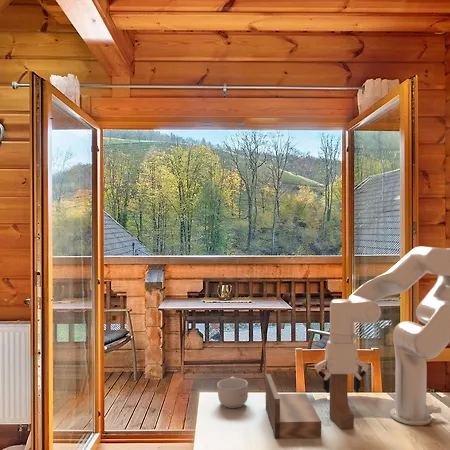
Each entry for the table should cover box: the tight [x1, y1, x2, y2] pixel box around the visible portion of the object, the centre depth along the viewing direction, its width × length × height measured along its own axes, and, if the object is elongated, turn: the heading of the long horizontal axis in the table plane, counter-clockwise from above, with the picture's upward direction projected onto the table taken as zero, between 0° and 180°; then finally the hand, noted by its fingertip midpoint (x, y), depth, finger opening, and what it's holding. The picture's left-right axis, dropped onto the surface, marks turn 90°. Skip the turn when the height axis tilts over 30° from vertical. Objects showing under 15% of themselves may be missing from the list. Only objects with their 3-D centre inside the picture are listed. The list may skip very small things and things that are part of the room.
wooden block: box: [329, 374, 355, 430], centre depth 148 cm, size 9×4×18 cm, turn 10°
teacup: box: [216, 376, 249, 409], centre depth 164 cm, size 14×11×8 cm
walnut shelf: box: [265, 373, 322, 440], centre depth 149 cm, size 14×22×12 cm, turn 2°
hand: (341, 391), depth 148 cm, fingers open, 9 cm apart
